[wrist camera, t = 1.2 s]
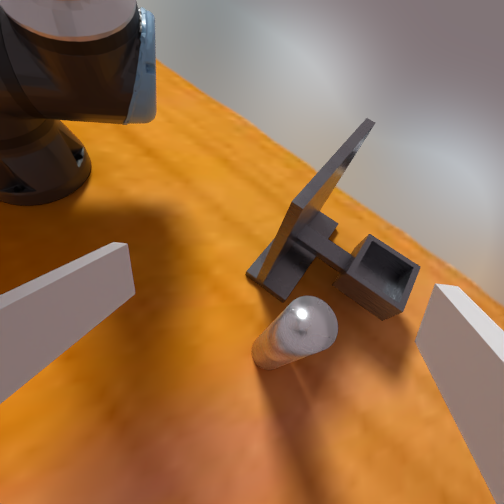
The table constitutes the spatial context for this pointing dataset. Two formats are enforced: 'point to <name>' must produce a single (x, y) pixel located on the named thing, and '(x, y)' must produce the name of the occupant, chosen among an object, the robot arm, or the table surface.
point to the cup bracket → (334, 247)
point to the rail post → (296, 333)
